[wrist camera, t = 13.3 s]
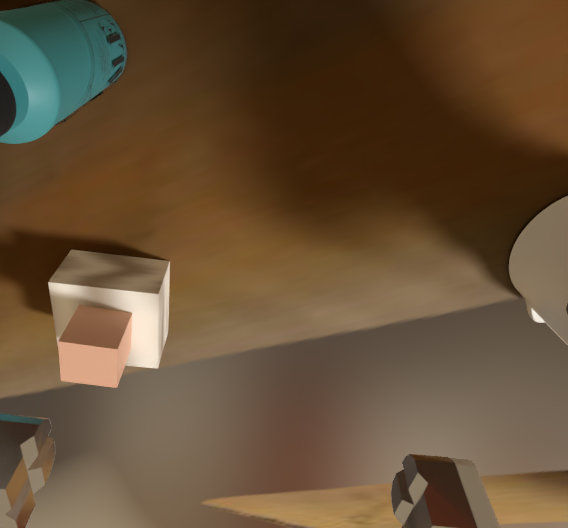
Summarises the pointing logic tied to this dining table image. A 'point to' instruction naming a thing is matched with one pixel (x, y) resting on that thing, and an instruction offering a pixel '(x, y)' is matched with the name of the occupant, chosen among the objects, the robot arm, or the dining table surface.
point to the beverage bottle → (54, 64)
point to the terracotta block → (95, 346)
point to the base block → (116, 297)
